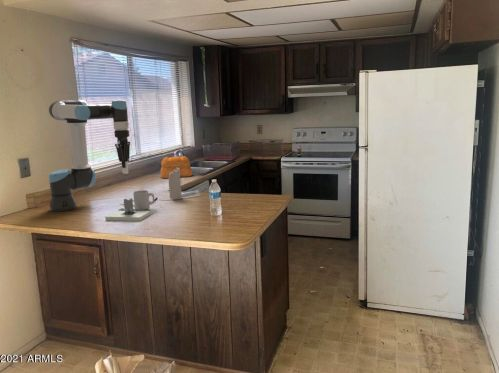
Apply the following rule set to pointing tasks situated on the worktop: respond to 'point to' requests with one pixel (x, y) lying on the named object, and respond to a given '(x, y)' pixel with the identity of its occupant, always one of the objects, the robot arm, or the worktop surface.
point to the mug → (142, 199)
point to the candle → (174, 185)
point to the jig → (137, 216)
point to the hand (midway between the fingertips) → (125, 173)
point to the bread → (176, 166)
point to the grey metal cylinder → (128, 206)
